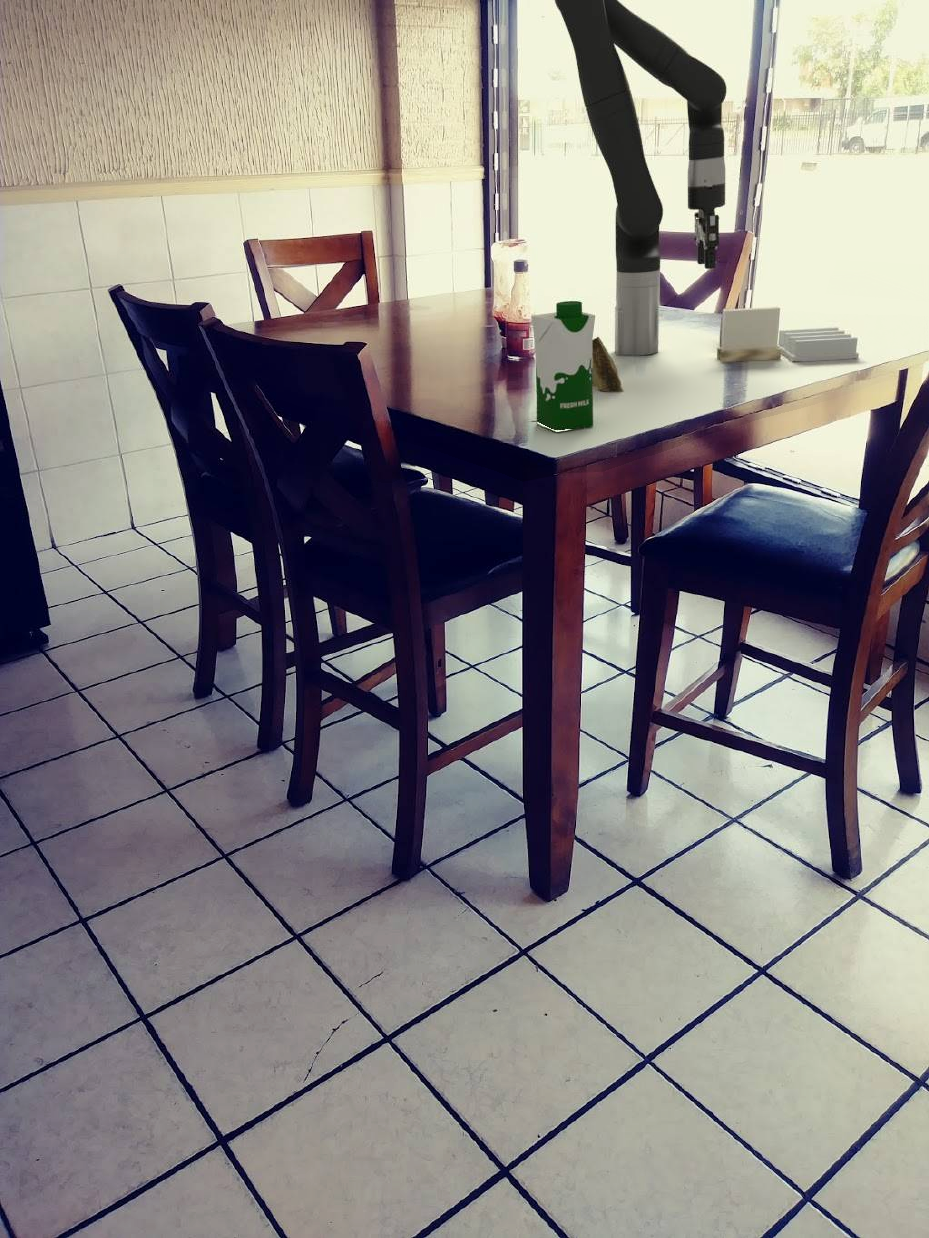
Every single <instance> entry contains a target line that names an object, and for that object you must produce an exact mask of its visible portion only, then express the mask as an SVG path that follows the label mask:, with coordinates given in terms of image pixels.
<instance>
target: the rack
mask: <svg viewBox="0 0 929 1238" xmlns="http://www.w3.org/2000/svg"><path fill="white" fill-rule="evenodd" d="M857 346H858V337H857V336H856V337H852V334H851V333H845V330H843V329H842V330H839V327H837V326H833V327H832V326H831V327H830V326H829V327H813V328H812V327H811V328H795V329H792V328H791V329H780V330H779V331H778V343H777V348H781V353H782V354H781V355H783V357H785V358H786V359H788V360H789V361H791V362H792V361H802V362H816V361H817V362H818V361H835V360H837V361H838V360H854V359H853V358H858V359H859V356H860V355H859V354H860V353H859V352H857V349H858V348H857Z"/></svg>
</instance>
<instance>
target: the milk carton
mask: <svg viewBox="0 0 929 1238" xmlns="http://www.w3.org/2000/svg"><path fill="white" fill-rule="evenodd" d="M555 308H556V309H555V310H556V312H547V313H541V314H533V315H530V317H531V324H532V330H533V331H532V332H533V339H534V350H535V351H534V352H535V353H534V354H535V384H536V385H535V386H536V387H535V388H536V423H537V422H539V423H541V424H543V425H545V426H547V427H549V428H551V429H554V430H565V429H577V428H582V429H587V428H586V427H588V428H592V427H591V426H593V427H594V397H593V388H594V387H593V386H594V385H593V370H592V340H593V339H594V331H595V320H596V315H595V314H592V313H587V312H584V311H583V302H582V301H578V300H568V301H566V300H565V301H561V302H560V301H559V302H556V307H555ZM584 427H585V428H584ZM577 430H578V429H577Z"/></svg>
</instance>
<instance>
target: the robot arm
mask: <svg viewBox="0 0 929 1238" xmlns="http://www.w3.org/2000/svg"><path fill="white" fill-rule="evenodd" d="M554 3H555V6H556V8H557V9H558V11H559V12H560V15H561V16H562V19H563V22H564V25H565V27H566V29H567V33H568V35H569V38H570V41H571V43H572V46H573V51H574V54H575V61H576V66H577V67H576V68H577V74H578V78H579V80H578V81H579V84H580V85H579V86H580V90H581V95H582V99H583V104H584V108H585V110H586V111H585V112H586V113H587V117H588V121H589V124H590V127H591V130H592V133H593V137H594V139H595V142H596V143H597V146H598V148H599V150H600V152H601V155H602V157H603V160H604V161H605V163H606V165H607V168H608V170H609V173H610V177H611V179H612V180H611V181H612V183H613V184H612V185H613V188H614V193H615V200H616V208H615V209H616V210H615V260H616V262H615V263H616V282H615V283H616V286H615V287H616V288H615V289H616V290H615V291H616V296H615V297H616V299H615V300H616V302H615V303H616V304H615V305H616V306H615V307H614V308H615V309H614V351H615V353H616V355H618V356H645V355H646V356H647V355H653V354H655V353H657V352H659V334H660V333H659V331H660V329H659V327H660V293H661V292H660V291H661V288H660V287H661V284H660V283H661V252H660V225H661V223H662V220H663V215H664V208H663V203H662V201H661V198H660V195H659V193H658V190H657V188H656V187H655V184H654V181H653V178H652V175H651V173H650V170H649V167H648V164H647V161H646V157H645V150H644V145H643V139H642V133H641V128H640V124H639V119H638V115H637V109H636V107H635V106H636V105H635V102H634V98H633V95H632V91H631V87H630V83H629V81H628V78H627V74H626V72H625V69H624V67H623V64H622V63H623V62H622V61H621V58H620V55H619V53H618V51H617V48H619V50H620V51H622V52H623V53H625V54H626V55H627V56H628V57H629V58H630V59H631V60H632V61H634V63H636V64H637V65H638V66H639V67H640V68H642V69H643V70H644V71H646V72H647V73H648V74H649V75H650V76H652V77H653V78H655V80H658V81H659V82H660V83H662V84H663V85H665V87H669V88H671V89H673V90H674V91H675V92H676V93H678V94H679V95H680V96H681V97H682V98H684V99H685V100H686V107H687V108H686V109H687V121H688V128H689V129H688V130H689V132H688V133H689V134H688V167H687V209H689V210H691V211H695V212H694V239H693V240H694V242H695V245H696V246H697V249H696V256H697V257H696V258H697V259H696V260H697V261H696V262H697V265H704V268H705V269H706V270H709V269H711V270H712V269H715V268H716V267H717V249H718V247H719V245H720V236H719V235H720V231H719V230H720V225H719V223H720V221H719V220H720V216H719V214H716V208H722V207H725V205H726V163H725V132H724V128H723V124H722V119H723V118H722V117H723V113H722V112H723V111H722V110H723V103H724V101H725V100H726V99H725V98H726V96H727V84H726V81H725V79H724V78H723V77H722V75H721V74H720V73H718V72H717V71H716V70H715V69H713V68H712V67H710V66H709V65H707V64H706V63H705V62H703V61H701V60H700V59H698V58H696V57H695V56H693V55H691V54H690V53H689V52H688V51H687V50H686V49H685V48H684V47H683V46H682V45H680V44H679V43H678V42H677V41H675V40H674V39H673V38H672V37H670V36H669V35H668V34H666V33H665V32H664V31H662V29H659V28H658V27H657V26H656V25H653V23H651V22H649V21H647V20H646V19H644V18H642V17H641V16H639V15H638V14H636V13H634V12H633V11H632V10H630V9H629V8H627V7H626V6H625V5H624V4H623V3H622V2H620V1H619V0H554ZM616 47H617V48H616Z"/></svg>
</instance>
